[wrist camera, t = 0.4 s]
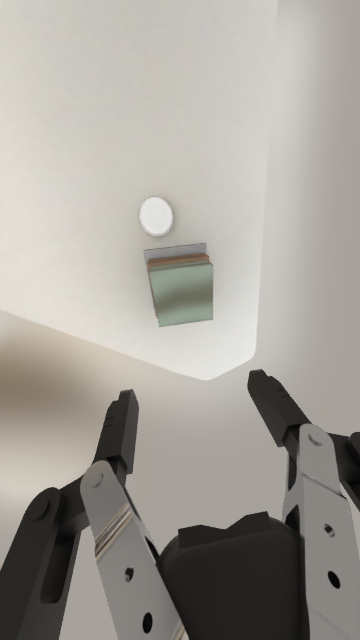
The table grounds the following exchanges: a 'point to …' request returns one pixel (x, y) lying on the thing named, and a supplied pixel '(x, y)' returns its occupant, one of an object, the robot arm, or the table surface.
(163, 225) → the supplement bottle
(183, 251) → the baseplate
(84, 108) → the table surface
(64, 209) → the table surface
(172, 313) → the brick tower
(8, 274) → the table surface
